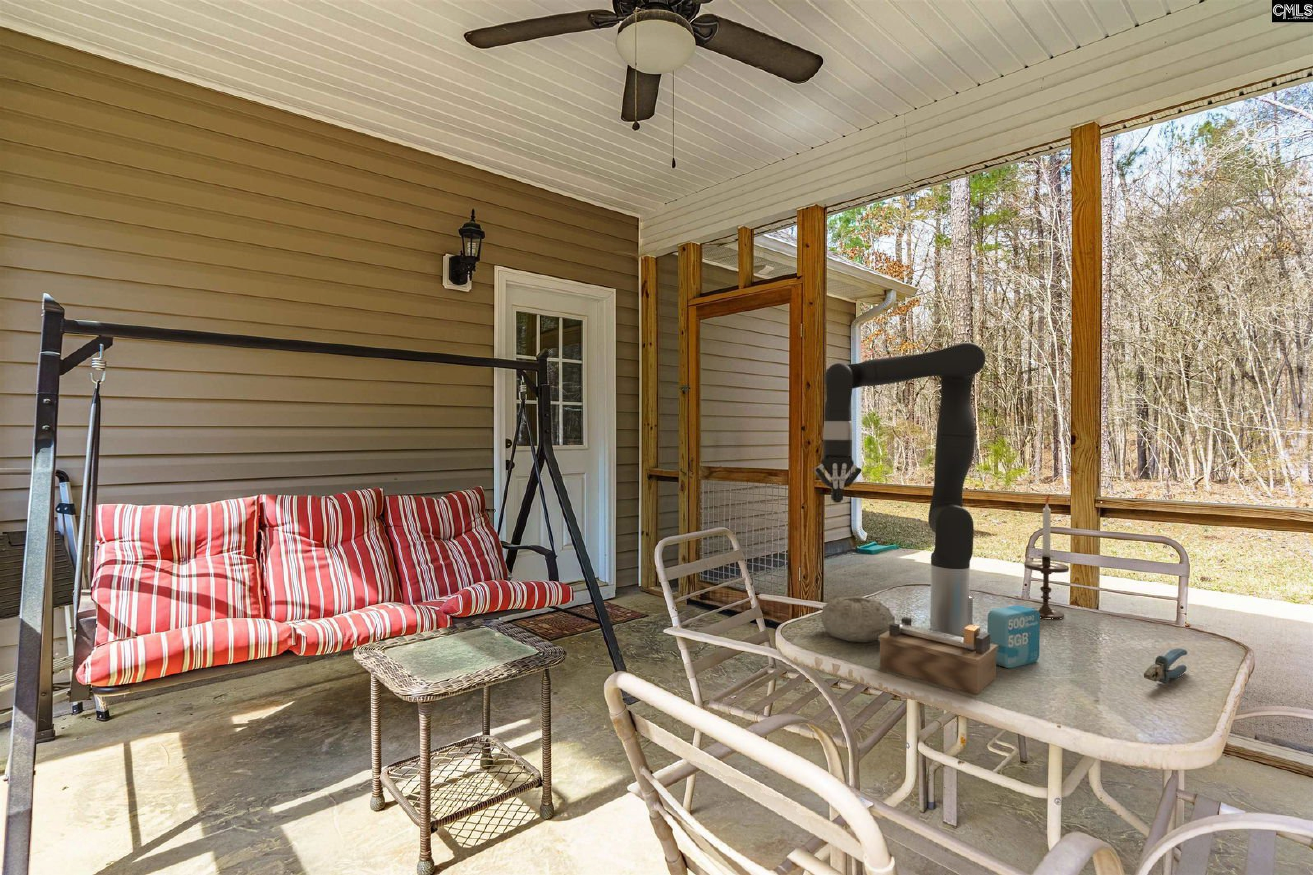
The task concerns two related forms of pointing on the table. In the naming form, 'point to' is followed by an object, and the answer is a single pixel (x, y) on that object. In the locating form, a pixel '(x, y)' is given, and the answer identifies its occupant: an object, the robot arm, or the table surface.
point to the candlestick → (1047, 567)
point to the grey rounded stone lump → (856, 618)
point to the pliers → (1166, 667)
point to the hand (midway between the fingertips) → (837, 502)
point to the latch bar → (945, 635)
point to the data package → (1015, 635)
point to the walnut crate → (939, 659)
